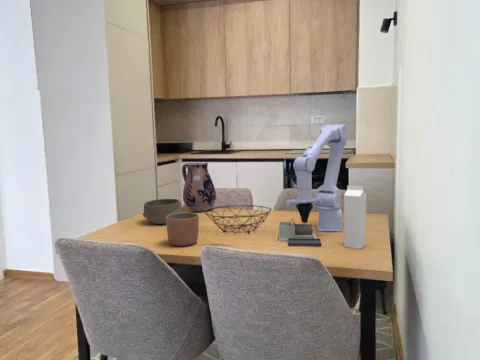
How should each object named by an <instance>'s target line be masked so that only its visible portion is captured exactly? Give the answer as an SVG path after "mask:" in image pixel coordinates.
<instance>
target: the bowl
mask: <svg viewBox="0 0 480 360" xmlns="http://www.w3.org/2000/svg"><path fill="white" fill-rule="evenodd" d="M174 213H183V205H182V202H181V200H180V199H178V198H177V199H176V198H162V199H161V198H160V199H152V200H148V201H145V203H143V212H142V216H143V218H144V219H146V220H147V221H148V222H150V223H152V224H155V225H166V216H167V215H169V214H174Z"/></svg>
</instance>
